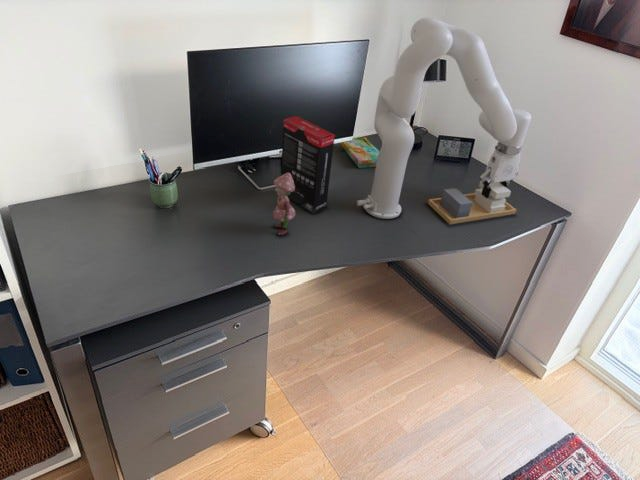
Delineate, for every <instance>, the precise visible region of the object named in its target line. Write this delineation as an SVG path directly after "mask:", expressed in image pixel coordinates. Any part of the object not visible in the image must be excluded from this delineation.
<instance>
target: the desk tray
mask: <svg viewBox="0 0 640 480" xmlns="http://www.w3.org/2000/svg"><path fill="white" fill-rule="evenodd" d="M474 193H475V192H473V193H466V194H465V193H464V194H463V195H464V196H466V197H467V198H468V199H469V200H470V201H472V202H473V204H472V207H471V211H470V214H469V216H467V217H460V218H454V217H453V216H452V215H451V214H449V213H448V212H447V211H446V210H445V209H444V208H443V207H442V206H441V205H440V202H441V198H442V197H438V198H429V199H428V200H427V201H428V202H427V204H428V205H429V206H430V208H432V209H433V210H434V211H435V212H436V213H437V214H438V215H439V216H440V217H441V218H443V220H444V221H445V222H447V224H448V225H454V224H459V223H465V222H466V223H467V222H473V221H478V220H485V219H490V218H491V219H492V218H498V217H504V216H510V215H516V213H517V209H516V208H515V207H513V206H512V204H510V203H508V202H507V200H506V201H505V204H504V205H505V206H506V207H505V209H504V211H499V212H492V213H488V212H487V211H486V210H485V209H484V208H483V207H481V206H480V205H479V204H478V203H477V202H476V201H474V199H475V195H474Z"/></svg>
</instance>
